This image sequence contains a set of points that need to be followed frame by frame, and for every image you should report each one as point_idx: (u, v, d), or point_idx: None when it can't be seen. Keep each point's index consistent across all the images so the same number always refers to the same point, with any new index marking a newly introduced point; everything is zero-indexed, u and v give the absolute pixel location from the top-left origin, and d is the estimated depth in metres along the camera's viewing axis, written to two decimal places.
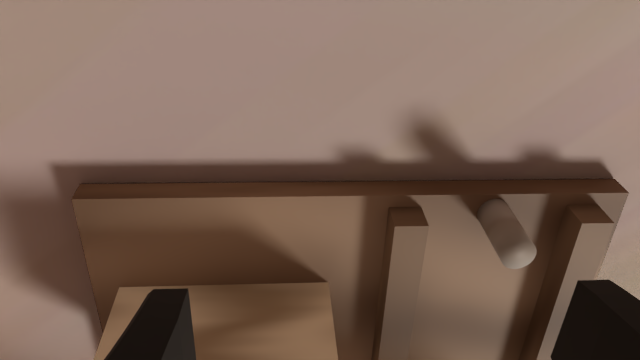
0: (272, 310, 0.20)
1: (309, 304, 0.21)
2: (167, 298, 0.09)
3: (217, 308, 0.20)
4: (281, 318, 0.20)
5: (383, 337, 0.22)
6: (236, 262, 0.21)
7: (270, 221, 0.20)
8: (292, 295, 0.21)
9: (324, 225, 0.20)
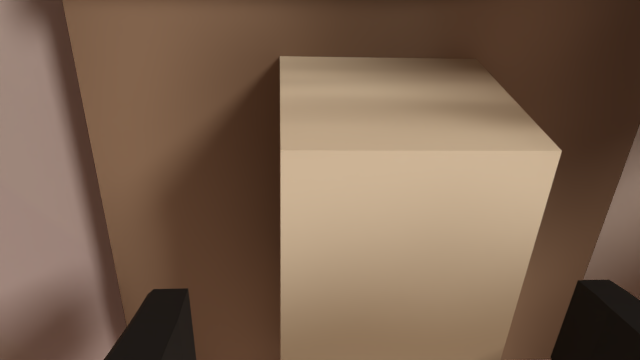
0: None
1: None
2: (167, 299, 0.09)
3: None
4: None
5: None
6: (233, 204, 0.13)
7: (142, 154, 0.12)
8: None
9: (141, 67, 0.11)
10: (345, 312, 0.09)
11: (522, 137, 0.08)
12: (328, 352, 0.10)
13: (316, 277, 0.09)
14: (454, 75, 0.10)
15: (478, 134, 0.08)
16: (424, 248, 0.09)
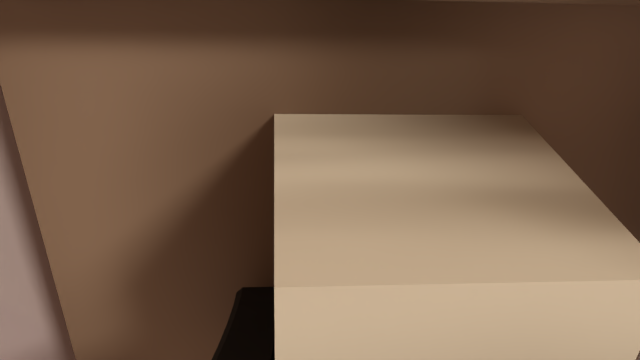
0: None
1: None
2: (260, 297, 0.09)
3: None
4: None
5: None
6: (217, 286, 0.10)
7: (103, 231, 0.10)
8: None
9: (97, 128, 0.09)
10: None
11: (612, 253, 0.06)
12: None
13: None
14: (498, 141, 0.08)
15: (551, 249, 0.06)
16: None
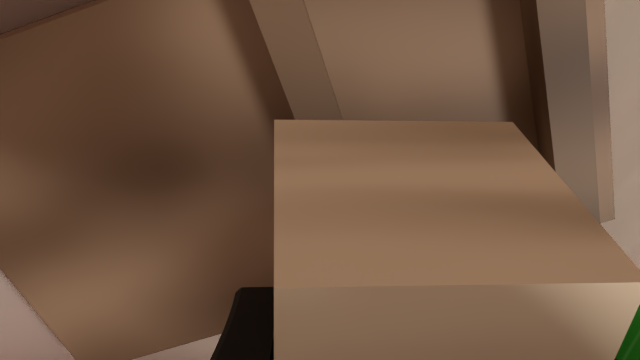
0: None
1: None
2: (258, 297, 0.09)
3: None
4: None
5: None
6: (94, 122, 0.16)
7: (102, 47, 0.15)
8: None
9: (174, 31, 0.15)
10: None
11: (593, 257, 0.06)
12: None
13: None
14: (489, 148, 0.08)
15: (535, 252, 0.06)
16: None
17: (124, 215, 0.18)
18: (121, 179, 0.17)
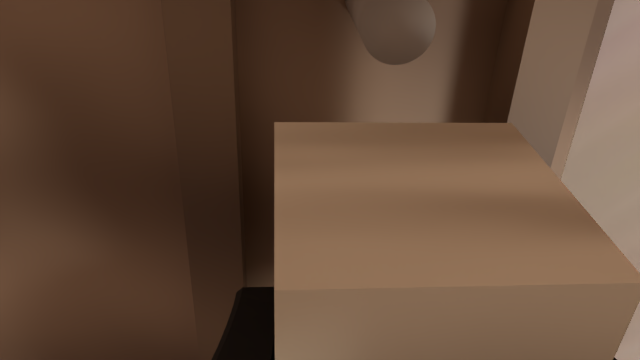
0: None
1: None
2: (259, 297, 0.09)
3: None
4: None
5: (191, 238, 0.12)
6: None
7: None
8: None
9: (52, 11, 0.11)
10: None
11: (591, 258, 0.06)
12: None
13: None
14: (488, 149, 0.09)
15: (534, 254, 0.06)
16: None
17: None
18: None
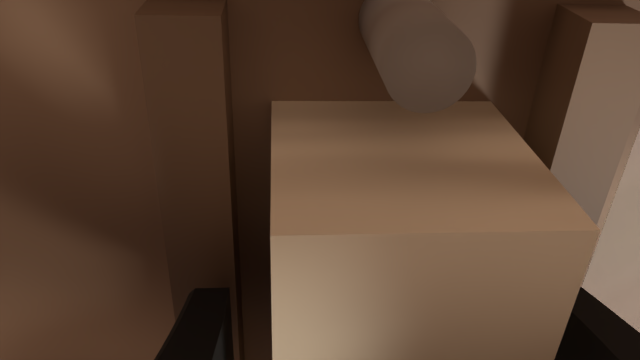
0: None
1: None
2: (210, 298, 0.09)
3: None
4: None
5: (177, 301, 0.11)
6: None
7: None
8: None
9: (10, 40, 0.09)
10: None
11: (552, 211, 0.07)
12: None
13: None
14: (467, 123, 0.09)
15: (501, 208, 0.07)
16: (437, 337, 0.07)
17: None
18: None
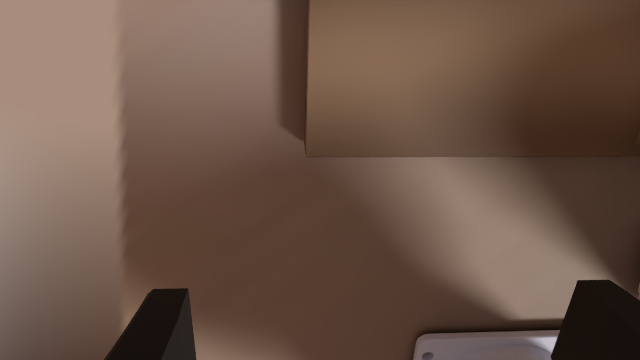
0: None
1: None
2: (167, 299, 0.09)
3: None
4: None
5: None
6: None
7: None
8: None
9: None
10: None
11: None
12: None
13: None
14: None
15: None
16: None
17: None
18: None
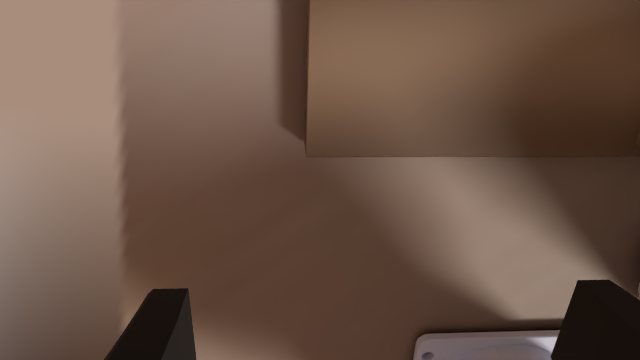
0: None
1: None
2: (167, 298, 0.09)
3: None
4: None
5: None
6: None
7: None
8: None
9: None
10: None
11: None
12: None
13: None
14: None
15: None
16: None
17: None
18: None
